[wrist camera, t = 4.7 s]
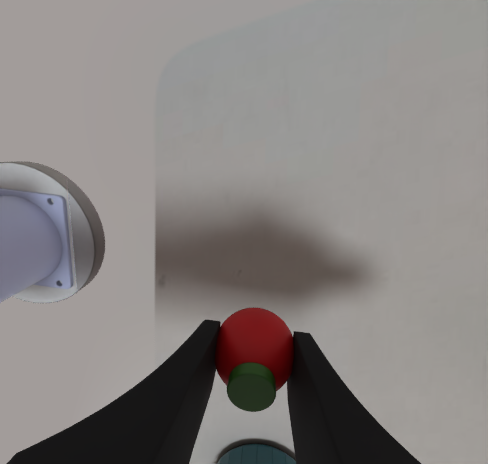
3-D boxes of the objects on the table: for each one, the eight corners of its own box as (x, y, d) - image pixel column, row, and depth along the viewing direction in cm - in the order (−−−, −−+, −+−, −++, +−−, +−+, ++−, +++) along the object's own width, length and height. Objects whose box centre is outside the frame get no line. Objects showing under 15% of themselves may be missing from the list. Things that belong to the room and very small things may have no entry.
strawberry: (218, 349, 13) (199, 422, 9) (223, 289, 12) (204, 345, 8) (286, 359, 12) (293, 437, 9) (296, 298, 12) (308, 359, 8)
